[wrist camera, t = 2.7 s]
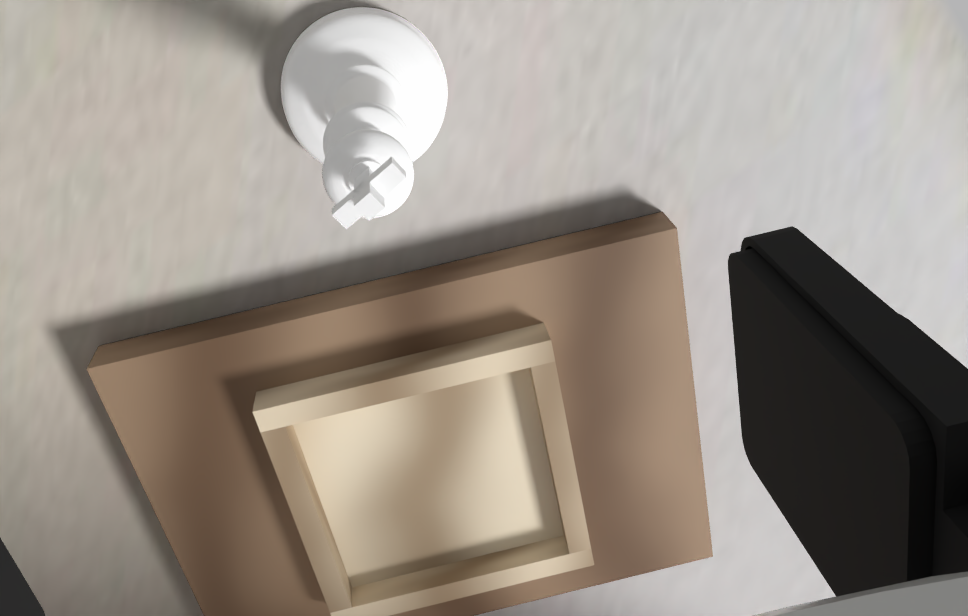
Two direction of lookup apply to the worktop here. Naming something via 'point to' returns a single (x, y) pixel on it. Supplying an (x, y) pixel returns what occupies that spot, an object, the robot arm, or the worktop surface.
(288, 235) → the worktop surface
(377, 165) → the chess piece
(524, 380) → the board
